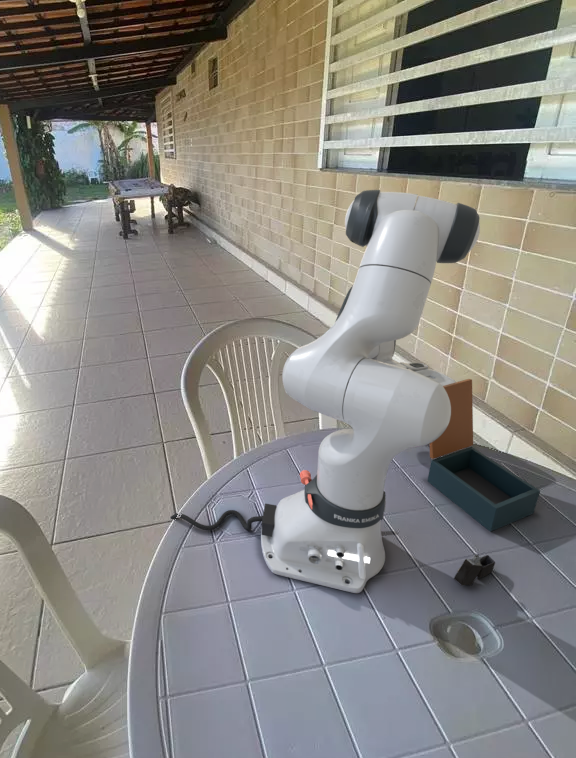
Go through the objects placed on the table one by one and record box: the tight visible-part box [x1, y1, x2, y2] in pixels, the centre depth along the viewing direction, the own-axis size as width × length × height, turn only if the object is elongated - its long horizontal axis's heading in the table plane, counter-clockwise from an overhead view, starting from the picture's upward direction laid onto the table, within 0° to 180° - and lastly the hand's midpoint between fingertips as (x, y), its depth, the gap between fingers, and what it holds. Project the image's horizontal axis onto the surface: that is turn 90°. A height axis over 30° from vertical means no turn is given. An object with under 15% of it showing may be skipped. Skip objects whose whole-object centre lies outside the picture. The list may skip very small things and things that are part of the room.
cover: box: [429, 378, 474, 460], centre depth 91 cm, size 15×12×1 cm
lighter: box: [453, 553, 496, 586], centre depth 72 cm, size 8×2×5 cm
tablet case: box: [427, 446, 541, 532], centre depth 87 cm, size 15×12×6 cm
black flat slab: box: [455, 468, 511, 504], centre depth 88 cm, size 11×8×1 cm
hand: (442, 408), depth 93 cm, fingers closed
